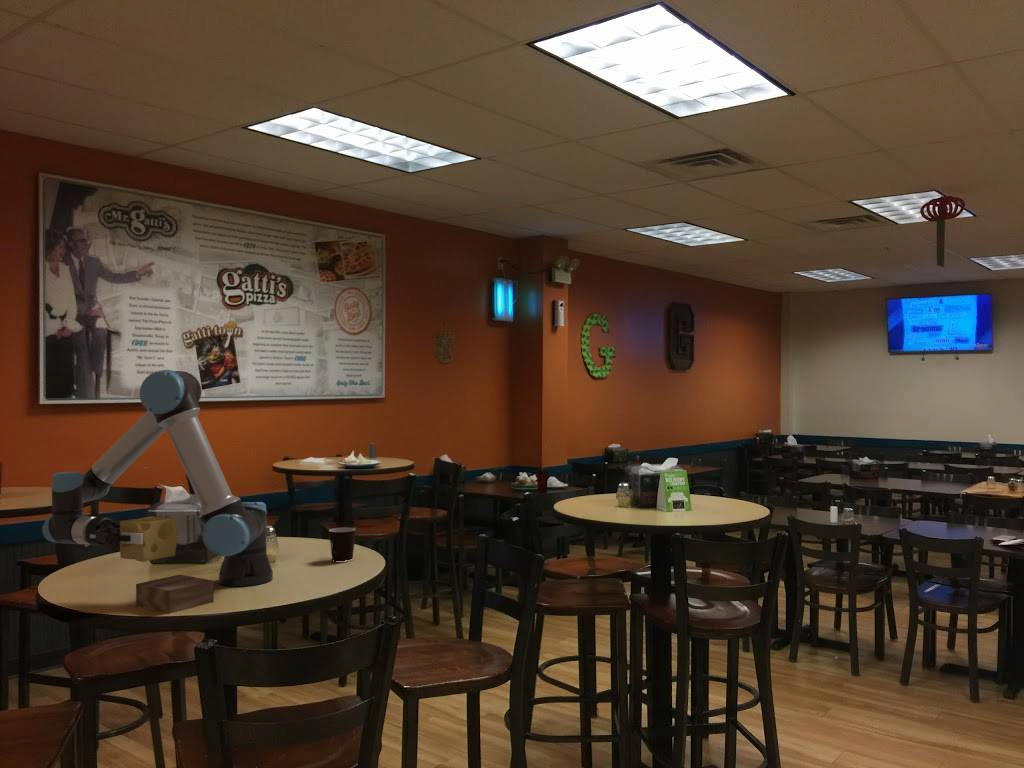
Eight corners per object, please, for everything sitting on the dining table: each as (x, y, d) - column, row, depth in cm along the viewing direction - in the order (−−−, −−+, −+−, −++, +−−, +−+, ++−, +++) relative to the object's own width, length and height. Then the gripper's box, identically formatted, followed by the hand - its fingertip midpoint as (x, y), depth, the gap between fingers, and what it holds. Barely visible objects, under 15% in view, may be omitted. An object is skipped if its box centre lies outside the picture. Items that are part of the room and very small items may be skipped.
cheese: (143, 562, 213) (143, 523, 213) (117, 558, 219) (117, 520, 219) (178, 555, 222) (178, 517, 222) (152, 551, 228) (152, 515, 228)
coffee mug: (353, 563, 268) (352, 532, 268) (326, 563, 268) (326, 532, 268) (360, 556, 280) (359, 526, 280) (334, 556, 280) (334, 526, 280)
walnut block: (213, 603, 220) (213, 580, 220) (169, 614, 209) (169, 590, 209) (180, 596, 227) (180, 574, 227) (136, 607, 216) (136, 584, 216)
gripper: (128, 537, 238) (190, 541, 230) (57, 553, 215) (124, 557, 208) (128, 511, 238) (190, 514, 230) (57, 523, 215) (124, 527, 208)
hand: (159, 534), depth 219 cm, fingers closed on cheese, 11 cm apart
